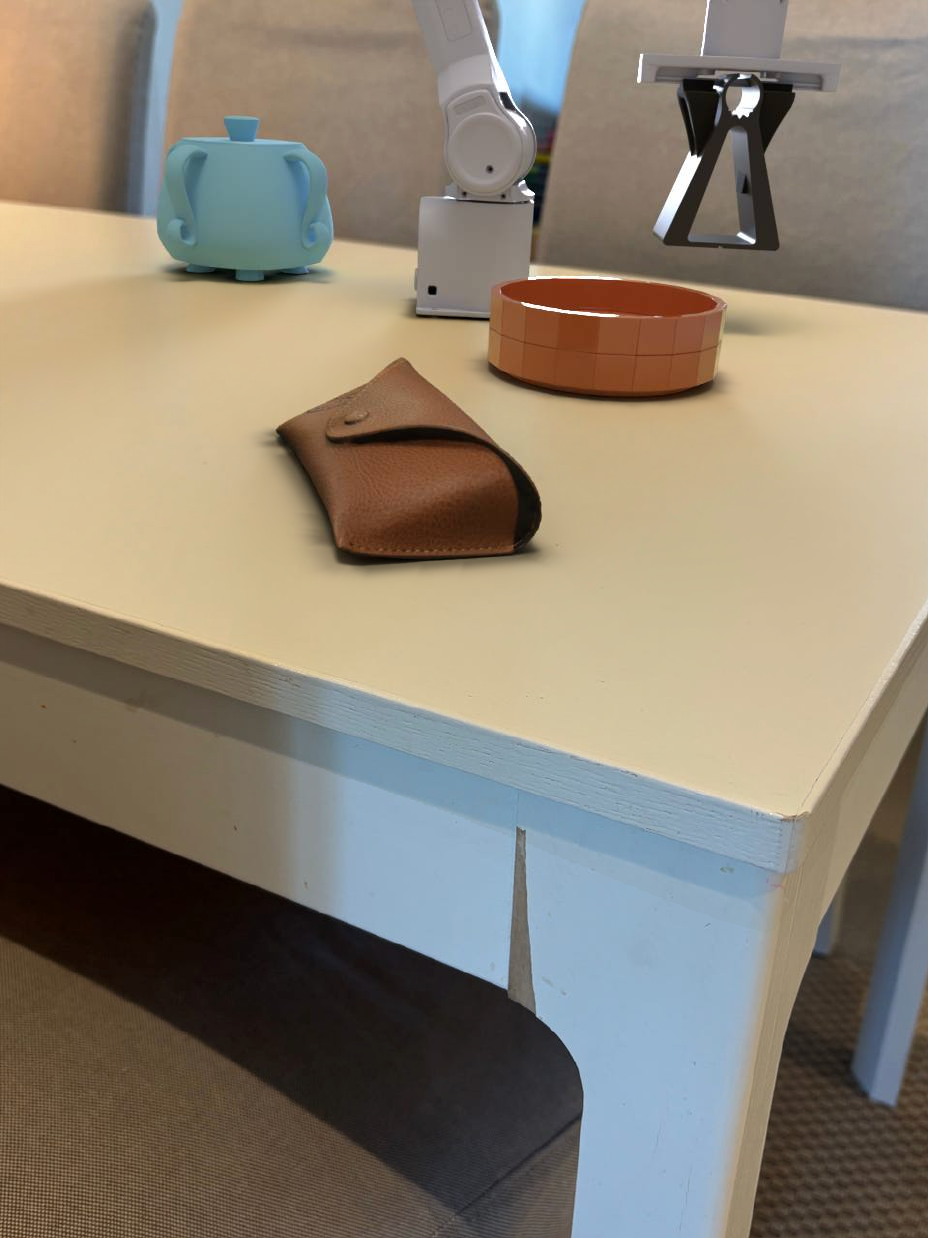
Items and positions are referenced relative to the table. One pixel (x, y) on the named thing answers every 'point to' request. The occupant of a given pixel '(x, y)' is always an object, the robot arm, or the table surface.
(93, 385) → the table surface
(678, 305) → the bowl
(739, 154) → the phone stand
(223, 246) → the decorative pot
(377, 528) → the sunglasses case
